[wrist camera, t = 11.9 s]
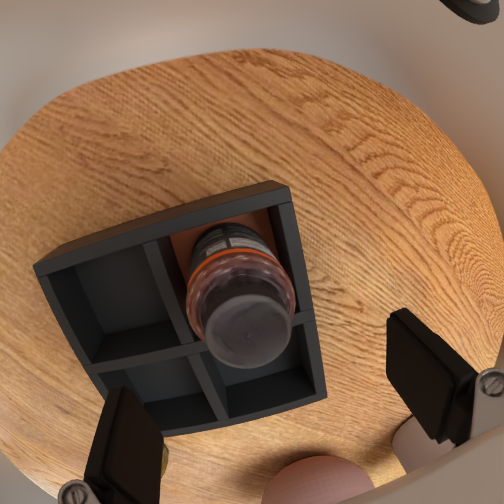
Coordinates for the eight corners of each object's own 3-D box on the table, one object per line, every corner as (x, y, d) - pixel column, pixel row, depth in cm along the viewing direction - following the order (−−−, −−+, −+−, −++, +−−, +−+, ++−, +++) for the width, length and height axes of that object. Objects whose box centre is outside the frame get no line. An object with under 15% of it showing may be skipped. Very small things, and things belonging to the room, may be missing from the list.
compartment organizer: (59, 245, 23) (31, 265, 18) (272, 179, 24) (289, 185, 19) (141, 406, 29) (135, 441, 24) (311, 365, 30) (327, 397, 25)
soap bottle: (457, 401, 38) (535, 495, 14) (408, 452, 40) (468, 549, 17) (419, 392, 34) (514, 516, 11) (363, 451, 37) (426, 575, 14)
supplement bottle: (237, 305, 25) (259, 401, 15) (176, 267, 24) (156, 352, 13) (281, 247, 24) (337, 317, 14) (219, 204, 23) (231, 247, 12)
